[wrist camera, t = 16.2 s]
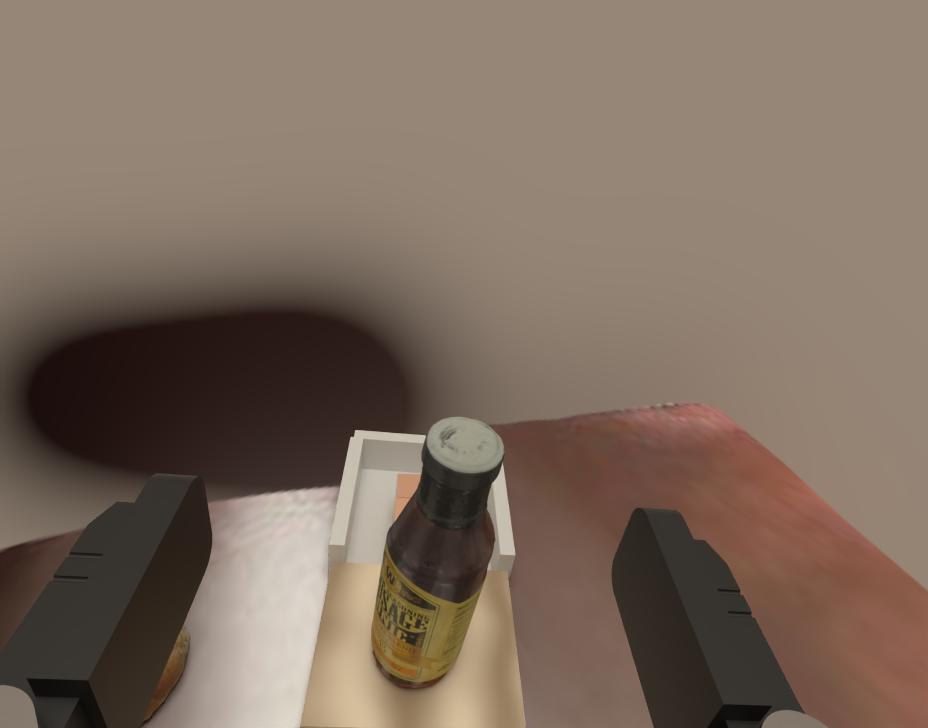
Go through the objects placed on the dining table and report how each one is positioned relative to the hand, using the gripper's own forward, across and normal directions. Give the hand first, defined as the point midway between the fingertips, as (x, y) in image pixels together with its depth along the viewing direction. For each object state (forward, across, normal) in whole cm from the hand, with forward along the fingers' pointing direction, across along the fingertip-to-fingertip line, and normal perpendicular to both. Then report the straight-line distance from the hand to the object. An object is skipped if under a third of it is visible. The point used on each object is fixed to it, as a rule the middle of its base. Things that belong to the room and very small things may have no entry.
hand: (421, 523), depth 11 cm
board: (+16, -2, +32) cm, 36 cm away
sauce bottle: (+15, -2, +30) cm, 33 cm away
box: (+29, -2, +32) cm, 43 cm away
